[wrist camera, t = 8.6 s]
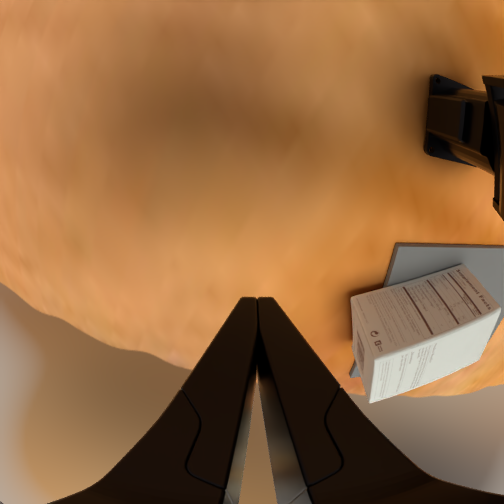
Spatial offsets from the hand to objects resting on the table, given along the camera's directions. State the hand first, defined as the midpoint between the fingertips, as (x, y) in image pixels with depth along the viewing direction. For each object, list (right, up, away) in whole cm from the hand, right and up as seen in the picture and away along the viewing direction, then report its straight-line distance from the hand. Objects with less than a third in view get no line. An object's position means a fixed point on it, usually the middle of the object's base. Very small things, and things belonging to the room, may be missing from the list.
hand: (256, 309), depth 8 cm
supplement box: (+9, -7, +14) cm, 18 cm away
